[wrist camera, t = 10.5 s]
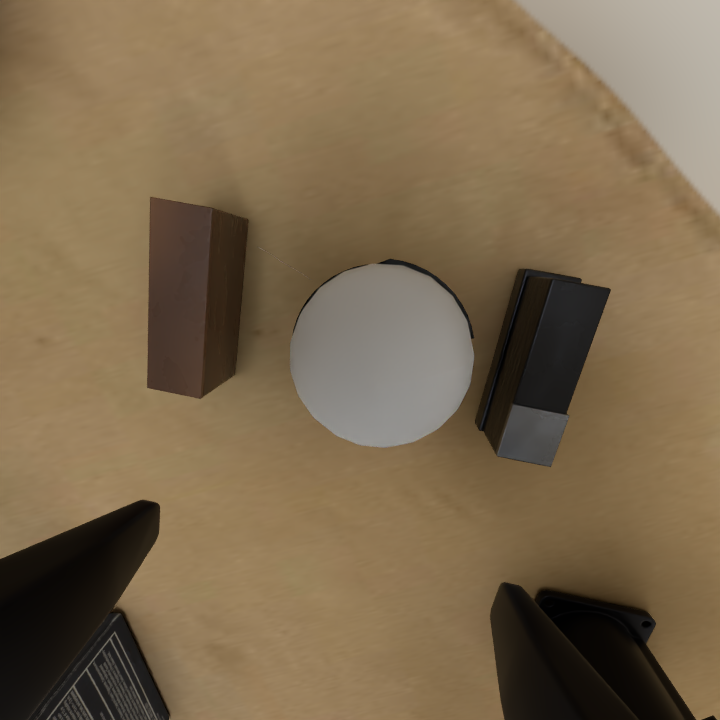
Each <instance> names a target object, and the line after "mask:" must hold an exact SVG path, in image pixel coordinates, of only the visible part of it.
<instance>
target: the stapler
mask: <svg viewBox="0 0 720 720" xmlns="http://www.w3.org/2000/svg"><path fill="white" fill-rule="evenodd" d="M581 281H582V279H580V278H576V277H571V276H565V275H560V274H554V273H548V272H543V271H537V270H532V269H519V271H518V274H517V278H516V281H515V284H514V288H513V291H512V295H511V298H510V302H509V305H508V309H507V312H506V316H505V319H504V323H503V326H502V330H501V333H500V337H499V340H498V344H497V347H496V351H495V354H494V357H493V361H492V364H491V368H490V371H489V375H488V378H487V382H486V385H485V389H484V392H483V396H482V399H481V403H480V406H479V410H478V413H477V417H476V420H475V424H476V426H477V428H478V429H479V430H480V431H484V433H485V435H486V437H487V439H488V441H489V443H490V444H491V446H492V448H493V450H494V452H495V454H496V456H498V457H503V458H508V459H513V460H518V461H523V462H528V463H533V464H538V465H543V466H549V467H551V465H552V462H553V460H554V457H555V454H556V451H557V449H558V446H559V443H560V440H561V438H562V435H563V432H564V429H565V427H566V424H567V421H568V418H569V415H568V414H567V410H568V407H569V404H570V402H571V399H572V396H573V393H574V391H575V388H576V385H577V382H578V380H579V377H580V374H581V371H582V368H583V366H584V363H585V360H586V357H587V355H588V352H589V349H590V346H591V344H592V341H593V338H594V335H595V332H596V330H597V327H598V324H599V321H600V319H601V316H602V313H603V310H604V307H605V305H606V302H607V299H608V296H609V294H610V291H611V289H609V288H605V287H600V286H594V285H589V284H583V283H581Z"/></svg>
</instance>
